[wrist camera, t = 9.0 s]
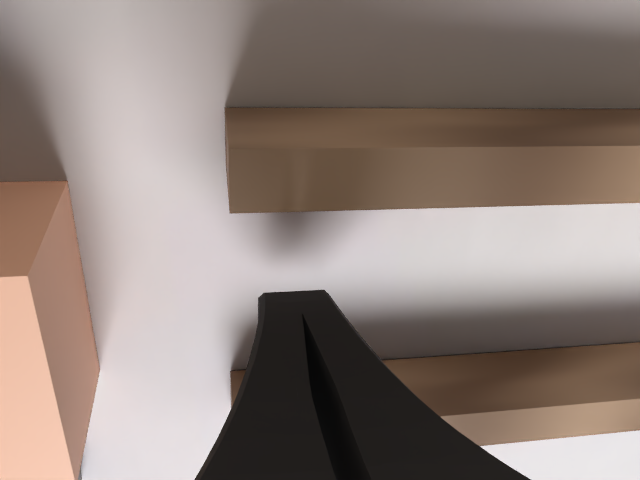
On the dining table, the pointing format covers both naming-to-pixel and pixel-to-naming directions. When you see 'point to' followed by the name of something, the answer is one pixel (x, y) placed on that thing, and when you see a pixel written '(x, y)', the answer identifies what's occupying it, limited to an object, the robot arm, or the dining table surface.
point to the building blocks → (452, 192)
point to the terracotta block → (43, 335)
